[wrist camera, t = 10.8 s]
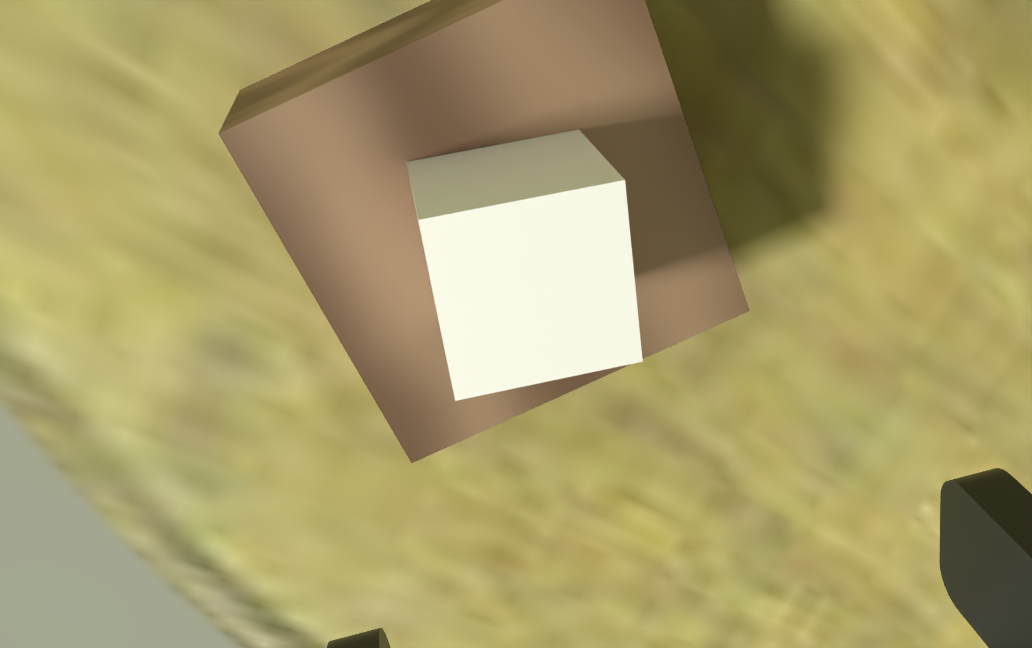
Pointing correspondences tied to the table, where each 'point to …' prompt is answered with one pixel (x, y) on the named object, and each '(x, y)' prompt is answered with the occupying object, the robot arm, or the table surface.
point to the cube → (528, 262)
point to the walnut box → (461, 127)
